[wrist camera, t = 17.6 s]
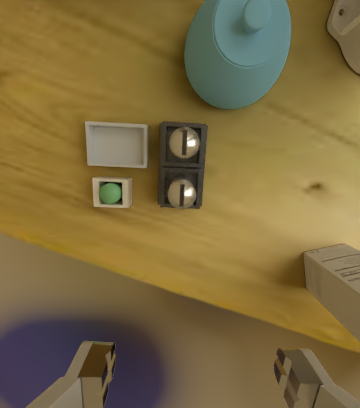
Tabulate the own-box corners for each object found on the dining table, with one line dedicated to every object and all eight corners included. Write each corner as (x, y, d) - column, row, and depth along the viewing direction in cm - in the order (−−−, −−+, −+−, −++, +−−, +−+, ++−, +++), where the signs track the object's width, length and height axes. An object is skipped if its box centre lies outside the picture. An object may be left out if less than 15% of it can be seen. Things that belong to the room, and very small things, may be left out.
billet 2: (170, 175, 35) (168, 180, 27) (192, 176, 35) (197, 181, 27) (169, 197, 36) (167, 208, 28) (191, 198, 36) (195, 209, 28)
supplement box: (347, 280, 42) (437, 346, 27) (305, 288, 42) (372, 358, 28) (346, 242, 40) (444, 291, 25) (302, 251, 40) (373, 305, 26)
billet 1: (171, 133, 33) (169, 126, 25) (195, 134, 33) (200, 127, 26) (170, 157, 34) (169, 157, 26) (193, 158, 34) (198, 159, 26)
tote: (90, 123, 34) (84, 121, 32) (148, 126, 34) (147, 124, 32) (93, 164, 36) (87, 165, 33) (148, 167, 36) (146, 168, 34)
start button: (104, 181, 35) (98, 183, 33) (123, 182, 35) (119, 184, 33) (105, 200, 36) (99, 203, 33) (123, 201, 36) (119, 204, 34)
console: (99, 176, 36) (92, 177, 33) (132, 177, 36) (128, 179, 33) (100, 202, 37) (93, 206, 34) (132, 204, 37) (128, 208, 34)
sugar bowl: (188, 117, 34) (194, 98, 23) (178, 13, 30) (179, -70, 19) (275, 106, 34) (324, 81, 23) (275, 1, 30) (333, -91, 19)
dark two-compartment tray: (160, 124, 34) (158, 120, 30) (206, 126, 34) (209, 123, 31) (158, 202, 37) (156, 207, 34) (200, 204, 38) (203, 209, 34)
